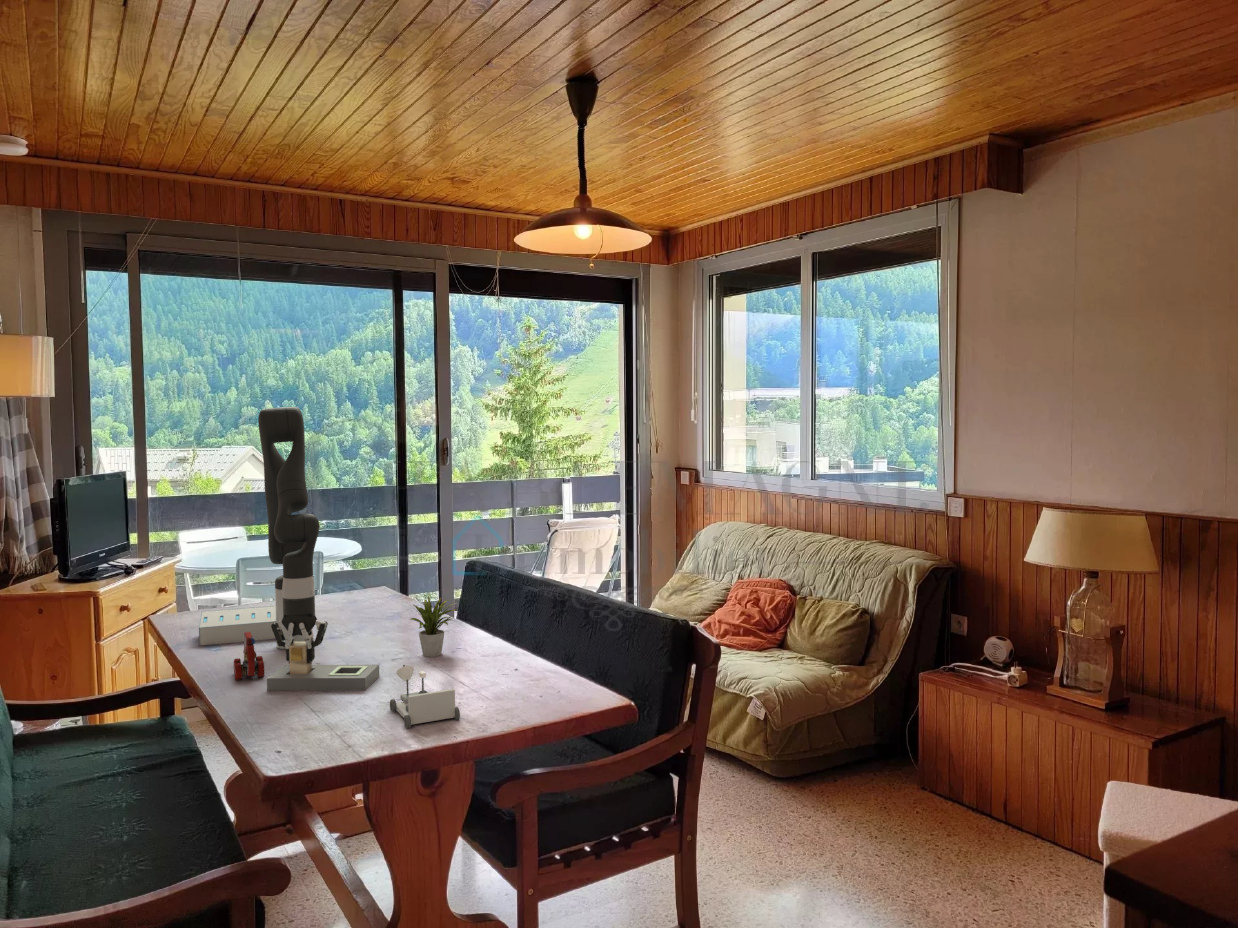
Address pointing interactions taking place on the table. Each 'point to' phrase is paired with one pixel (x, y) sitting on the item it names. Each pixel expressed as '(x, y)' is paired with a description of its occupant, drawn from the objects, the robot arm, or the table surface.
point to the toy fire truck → (249, 660)
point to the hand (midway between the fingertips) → (300, 662)
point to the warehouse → (236, 624)
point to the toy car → (424, 702)
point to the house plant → (432, 627)
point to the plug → (299, 658)
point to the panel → (325, 678)
